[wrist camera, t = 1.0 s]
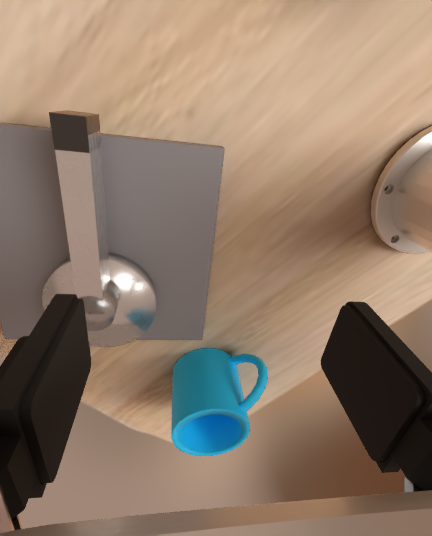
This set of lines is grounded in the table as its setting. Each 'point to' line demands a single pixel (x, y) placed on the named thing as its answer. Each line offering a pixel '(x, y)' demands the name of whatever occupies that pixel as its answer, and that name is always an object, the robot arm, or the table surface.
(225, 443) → the mug
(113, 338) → the lever
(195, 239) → the stand base
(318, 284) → the table surface
